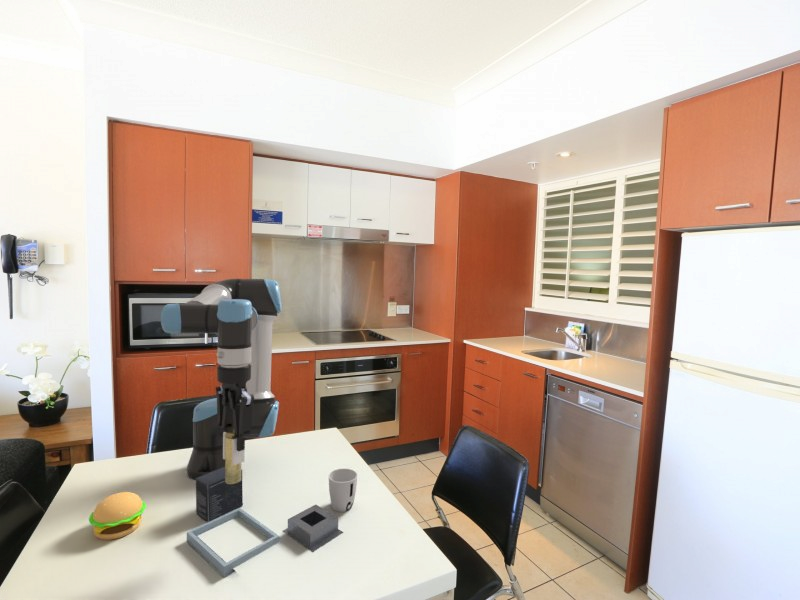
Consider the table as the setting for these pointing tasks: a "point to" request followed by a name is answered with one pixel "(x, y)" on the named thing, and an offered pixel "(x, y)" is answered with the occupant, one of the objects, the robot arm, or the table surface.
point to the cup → (342, 489)
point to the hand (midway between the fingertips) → (233, 459)
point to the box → (217, 495)
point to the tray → (228, 567)
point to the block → (313, 527)
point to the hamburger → (117, 515)
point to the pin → (231, 470)
